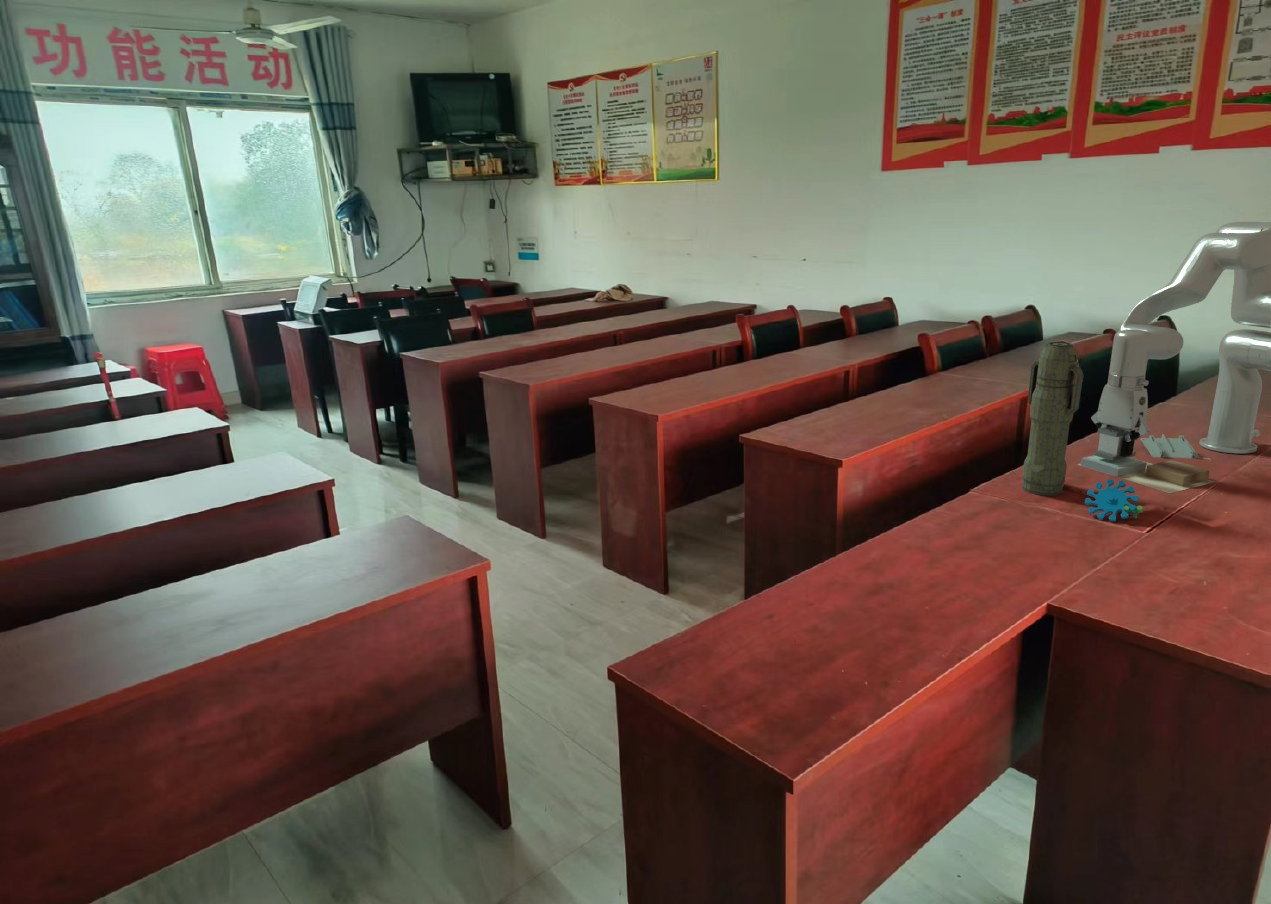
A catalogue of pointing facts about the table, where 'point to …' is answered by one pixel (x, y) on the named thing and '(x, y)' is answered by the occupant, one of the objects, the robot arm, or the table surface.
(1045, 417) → the thermos
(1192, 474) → the stand
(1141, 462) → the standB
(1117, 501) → the gear
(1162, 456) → the metal bracket
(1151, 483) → the board
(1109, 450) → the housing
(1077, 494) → the table surface
